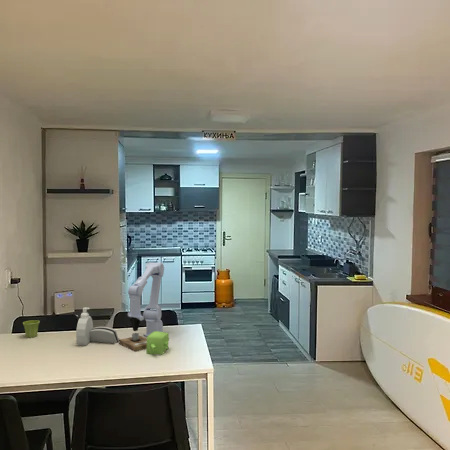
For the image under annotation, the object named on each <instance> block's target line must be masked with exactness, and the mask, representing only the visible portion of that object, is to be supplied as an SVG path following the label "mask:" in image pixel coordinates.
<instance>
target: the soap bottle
mask: <svg viewBox="0 0 450 450" xmlns="http://www.w3.org/2000/svg"><path fill="white" fill-rule="evenodd" d="M90 309H91V308H90V307H82V312H81V314H80V317H79V318H78V321H77V324H76V331H75V332H76V335H75V339H76V344H77V346H87V345H88V344H89V343H90V342H91V341H90V331H91V330H92V329H93V328H94V323H93V322H94V321H93V318H92V316H90V313H89V312H88V310H90Z"/></svg>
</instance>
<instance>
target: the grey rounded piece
mask: <svg viewBox="0 0 450 450" xmlns="http://www.w3.org/2000/svg"><path fill="white" fill-rule="evenodd" d="M119 340H120V337H119V336H118V334H117V330H116V329H114V328H112V327H107V326H96V327H93V329H92V330H91V331H90V342H92V343H106V344H108V343H109V344H117V343H118V342H119Z"/></svg>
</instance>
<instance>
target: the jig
mask: <svg viewBox="0 0 450 450" xmlns="http://www.w3.org/2000/svg"><path fill="white" fill-rule="evenodd" d="M119 339H120V338H119ZM118 343H119V345H121V346H122V347H125V348H127V349H129V350H131V351H133V352H139V350H140V351H144V350H146V349H147V337H144V336H142V335H139V341H137V342H133V341H132V336H130V337H126V338H121V339H120V340H119V341H118ZM143 349H144V350H143Z"/></svg>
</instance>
